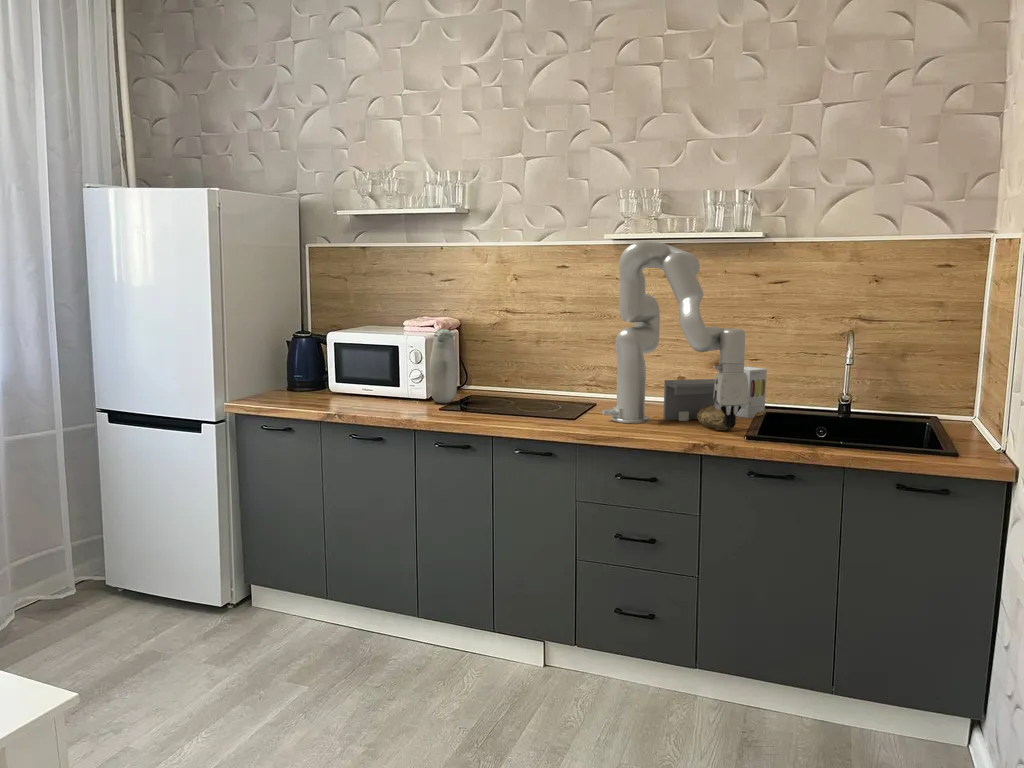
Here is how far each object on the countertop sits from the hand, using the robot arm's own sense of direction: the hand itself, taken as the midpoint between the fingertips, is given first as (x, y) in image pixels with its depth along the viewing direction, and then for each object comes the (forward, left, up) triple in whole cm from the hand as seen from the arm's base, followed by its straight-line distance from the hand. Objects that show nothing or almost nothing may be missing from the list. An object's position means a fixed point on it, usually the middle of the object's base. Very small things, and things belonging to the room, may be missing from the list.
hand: (729, 426), depth 261 cm
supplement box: (+22, +30, -3) cm, 37 cm away
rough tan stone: (+2, +12, -3) cm, 12 cm away
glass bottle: (-79, +75, -3) cm, 109 cm away
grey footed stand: (0, +24, -2) cm, 24 cm away
